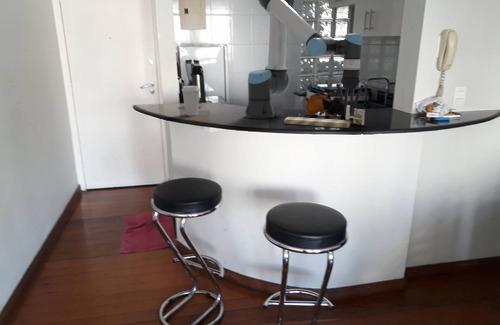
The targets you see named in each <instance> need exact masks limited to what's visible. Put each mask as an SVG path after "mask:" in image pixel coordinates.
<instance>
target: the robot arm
mask: <svg viewBox="0 0 500 325" xmlns="http://www.w3.org/2000/svg"><path fill="white" fill-rule="evenodd" d="M258 3H259V5H260V6H261V8H263V9H264V10H265V11H266V12H267V14H268V15H269V16H270V18H269V19H270V20H269V37H268V38H269V41H268V57H267V65H266V66H265V67H264V69H255V70H252V71H249V73H248V78H247V82H248V84H247V88H248V92H247V93H248V95H247V96H248V102H247V104H246V108H245V112H244V117H245V118H248V119H253V120H265V119H267V120H268V119H272V118H275V111H274V108H273V104H272V95H275V94H277V95H278V94H282V93H283V92H285V91H287V90H288V88H289V87H290V83H291V78H290V75H289V74H288V72H287V71H288V68H287V66H286V65H285V58H286V42H287V30H289V31H290V32H291V33H292V34H293V35H294V36H295V37H296V38H298V40H299V41H301V42H302V43H303V45H305V46H306V49H307V53H308V54H309V55H311V56H314V57H323V56H343V63H342V64H343V65H342V67H343V69H342V79H341V80H340V82H338V83H336V85H335V86H336V88H337V91H338V97H339V98H340V103H341V104H343V105H344V112H346V114H345V120H348V121H350V118H348V117H349V116H351V114H353V110H354V108H353V107H354V106H356V105H357V104H358V101H359V98H360V95H361V92H362V89H363V88H364V87H365V84H363V83H361V82H360V81H361V80H360V68H361V55H362V54H361V53H362V46H363V36H362V33H346V34H345V35H344V37H343V38H328V37H327V38H326V37H323V36H322V35H320V34H319V32H318V31H316V30H315V29H314V28H313V27H312V26H311V25H310V24H309V23H308V22H307V21H306V20H305V19H304V18H303V17H302V16H300V15H299V14H298V12H296V11H295V10H294V9H293V7H294V6H295V4H296V0H258ZM342 86H343V88H344V96H343V91H342V90H343V89H342ZM357 87H358V90H357V93H356V96H354V95H355V89H356V88H357ZM349 91H350V95H349ZM349 96H350V97H349ZM354 97H355V99H354ZM349 98H350V99H349ZM343 100H345V101H343ZM348 100H349V101H348ZM348 102H350V105H347V103H348ZM350 113H351V114H350Z"/></svg>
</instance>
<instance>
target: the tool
mask: <svg viewBox="0 0 500 325" xmlns="http://www.w3.org/2000/svg"><path fill="white" fill-rule="evenodd" d="M331 97H332V94H331V93H329V92H328V93H327V95H323V94H321V93H320V92H317V93H314V94H312V95H310V96H309V98H308V100H307V101H306V105H305V108H306V113H307V114H308V116H310V117H312V116H314V114H317V113H319V114H318V115H319V116H322V115H324V114H328V115H329V116H331V117H334V118H336V117H337V116H341V117H345V116H346V112H344V105H343V104H341V103H340V97H339V96H334V97H333V99H332V98H331ZM343 101H345V99H343ZM347 105H350V101H348V103H347Z"/></svg>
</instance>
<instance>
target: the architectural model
mask: <svg viewBox="0 0 500 325" xmlns="http://www.w3.org/2000/svg"><path fill="white" fill-rule="evenodd" d="M353 111H354V112H353V113H352V115H350V116H349V117H348V118H349V119H353V120H352V121H353V124H355V125H356V124H357V125H358V126H359V125H361V126H364V125H365V113H366V109H361V108H353Z"/></svg>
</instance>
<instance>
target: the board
mask: <svg viewBox="0 0 500 325" xmlns="http://www.w3.org/2000/svg"><path fill="white" fill-rule="evenodd" d="M283 122H284V124H289V125H301V126H302V125H305V126H317V127H331V128H345V129H346V128H347V129H349V128H350V127H351V120H346V119H345V120H344V119H332V118H331V119H330V118H328V119H327V118H314V117H313V118H311V117H298V116H297V117H296V116H287V117H286V118H284V121H283Z"/></svg>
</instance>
